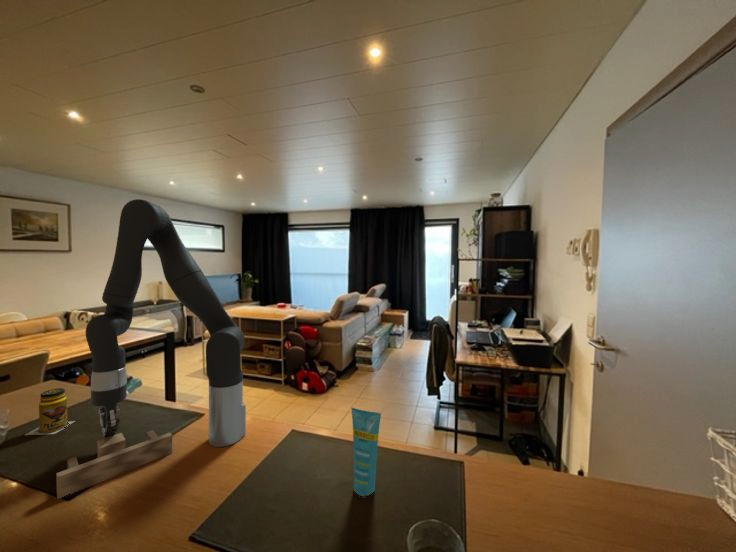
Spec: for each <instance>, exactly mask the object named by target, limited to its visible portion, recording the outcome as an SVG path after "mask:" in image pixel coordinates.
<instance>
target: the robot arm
mask: <svg viewBox="0 0 736 552" xmlns="http://www.w3.org/2000/svg"><path fill="white" fill-rule="evenodd" d="M147 240H148V242H150V244H151V246H152V247H153V248H154V249H155V251H156V252H157V254H158V257H159V259H160V262H161V268H162V271H163V275H164V278H165V281H166V283H167V284H168V286H169V287H170V289H171V291H172V292H173V294H174V295H175V297H176V298H177V299H178V301H179V302H180V303H181V304H182V305H183V306H184V307H185V308H186V309H188V310H189V312H191V313H192V314H194V316H195V317H197V318H198V319H199V320H200V322H202V323H203V326H204V327H205V328H206V330H207V332H208V334H209V338H208V339H207V342H206V345H205V368H206V376H207V378H208V443H209V445H211V447H217V448H220V447H221V448H222V447H226V446H227V447H228V446H231V445H233V444H235V443H237V442H239V441H241V439H242V438H243V437H244V436H246V435H247V434H246V431H247V430H246V428H247V427H246V421H247V420H246V419H247V418H246V415H247V414H246V410H247V409H246V404H245V403H244V401H243V398H244V397H243V396H244V395H243V392H244V390H243V389H244V387H243V386H244V383H243V382H244V379H243V378H244V372H243V370H242V369H241V367H242V366H241V351H242V350H243V349H244V346H245V341H246V340H245V339H246V338H245V335H244V333H243V332H242V329H240V327H239V326H238V325H237V324H236V323H235V321H234V320H233V319H232V318H231V316H230V315H229V314H228V312H227V311H226V309H225V308H224V306H223V304H222V303H221V301H220V299H219V297H218V295H217V293H216V292H215V291H214V289H213V287H212V285H211V283H210V282H209V280H208V277H206V275H205V274H204V272H203V271H202V269H201V268H200V267H199V265H198V263H197V262H196V260H195V258H194V257H193V255H192V254H191V253H190V251H189V250H188V249H187V247H186V246H185V244H184V243H183V241H182V239H181V238H180V235H179V234H178V232H177V229H176V227H175V225H174V223H173V221H172V219H171V216H170V215H169V214H168V212H167V211H166V210H165V209H164V208H163V207H162V206H160V205H158V204H155V203H153V202H151V201H149V200H145V199H138V198H137V199H133V200H130V201H128V202H126V203H125V205H123V207H122V209H121V212H120V217H119V223H118V232H117V238H116V245H115V252H114V257H113V261H112V266H111V269H110V273H109V276H108V278H107V281H106V284H105V287H104V290H103V293H102V298H101V300H102V302H103V303H104V304H105V305H106V306H105V312H104V313H103V314H99V315H96V316H94V317H92V318H90V320H89V321H88V323H87V325H86V327H85V339H86V341H87V345H88V348H89V351H90V354H91V356H92V357H91V358H92V360H91V377H90V405H91V406H93V407H96V408H98V407H99V409H98V415H99V419H100V421H99V423H100V427H101V429H102V430H101V431H102V434H103V438H106V437H110V436H113V435H116V433H118V428H119V424H120V421H121V419H120V417H119V415H120V411H121V409H120V406H118V404H119V403H120V402H123V401H124V400H125V399H126V398H127V396H128V395H127V391H128V390H127V389H128V388H127V386H128V383H127V380H128V378H127V375H128V374H127V367H126V350H125V348H124V347H123V346H121V345H119V341H118V340H119V339H118V337H119V336H122V335H123V334H125V333H126V332H127V331H128V330H129V329H130V326H131V324H132V322H133V316H134V315H133V314H134V301H135V298H136V296H137V294H138V290H139V287H140V285H141V281H142V276H143V275H142V272H143V266H142V260H143V251H144V248H145V245H146V242H147Z"/></svg>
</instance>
